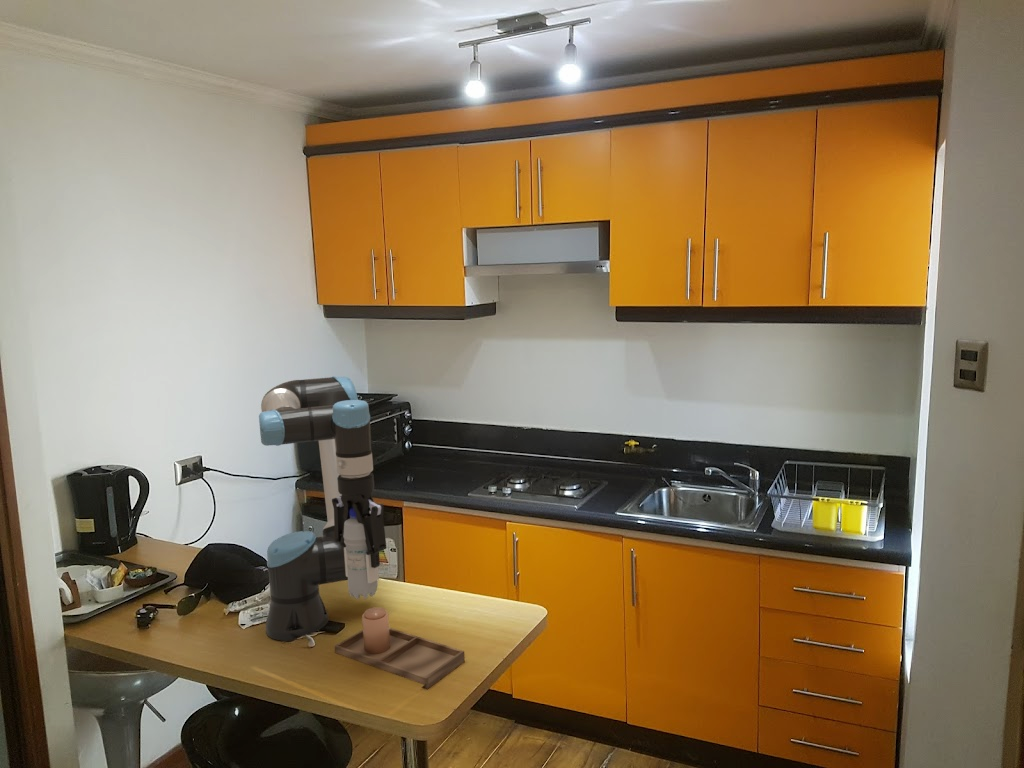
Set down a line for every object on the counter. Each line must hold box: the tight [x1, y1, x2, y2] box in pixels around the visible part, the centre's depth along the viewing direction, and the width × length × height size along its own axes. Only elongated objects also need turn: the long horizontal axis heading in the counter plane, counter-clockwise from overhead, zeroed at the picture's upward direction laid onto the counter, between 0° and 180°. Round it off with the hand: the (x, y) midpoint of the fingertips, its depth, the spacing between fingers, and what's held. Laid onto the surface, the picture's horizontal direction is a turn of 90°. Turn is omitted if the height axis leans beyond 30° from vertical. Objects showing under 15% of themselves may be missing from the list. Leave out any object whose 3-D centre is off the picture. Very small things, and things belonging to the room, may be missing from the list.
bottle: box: [343, 508, 378, 600], centre depth 163 cm, size 7×7×20 cm
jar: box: [361, 606, 390, 654], centre depth 176 cm, size 6×6×9 cm
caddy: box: [334, 627, 466, 690], centre depth 173 cm, size 28×13×2 cm, turn 56°
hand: (362, 577), depth 164 cm, fingers closed on bottle, 6 cm apart
